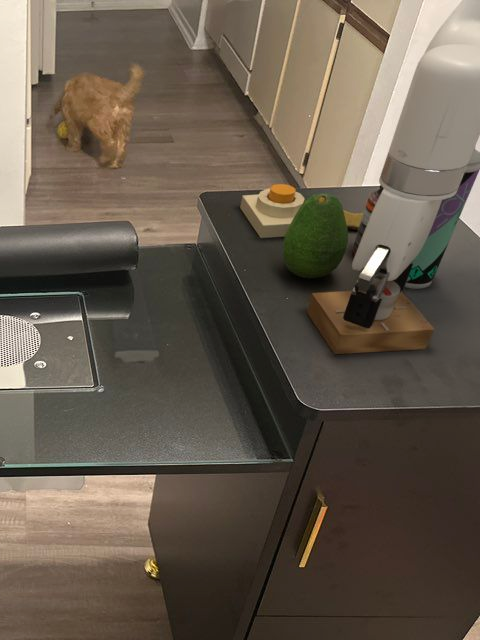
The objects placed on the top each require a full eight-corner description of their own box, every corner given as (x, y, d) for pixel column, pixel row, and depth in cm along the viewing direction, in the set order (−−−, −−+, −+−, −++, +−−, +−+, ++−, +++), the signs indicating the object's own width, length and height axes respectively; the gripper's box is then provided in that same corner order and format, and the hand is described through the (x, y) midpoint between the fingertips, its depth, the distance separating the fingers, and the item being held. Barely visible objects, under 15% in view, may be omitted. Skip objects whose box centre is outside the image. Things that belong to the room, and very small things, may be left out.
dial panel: (391, 307, 94) (399, 286, 92) (426, 349, 87) (435, 328, 85) (306, 312, 94) (312, 291, 92) (334, 354, 88) (341, 333, 85)
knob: (345, 301, 91) (354, 275, 88) (380, 298, 91) (390, 272, 88) (361, 321, 87) (371, 295, 85) (398, 318, 87) (408, 292, 85)
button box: (289, 204, 117) (295, 181, 114) (313, 235, 109) (320, 210, 107) (239, 207, 117) (244, 184, 114) (260, 238, 109) (265, 214, 107)
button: (288, 193, 112) (290, 183, 111) (296, 204, 109) (299, 193, 108) (264, 195, 112) (267, 184, 111) (272, 205, 109) (275, 195, 108)
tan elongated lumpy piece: (409, 239, 109) (416, 235, 106) (313, 232, 113) (317, 228, 110) (412, 217, 109) (419, 212, 106) (316, 211, 113) (320, 206, 110)
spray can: (379, 269, 101) (430, 127, 88) (417, 265, 101) (474, 123, 88) (400, 290, 97) (457, 145, 84) (440, 286, 97) (503, 141, 84)
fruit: (345, 291, 97) (372, 209, 90) (284, 291, 98) (306, 211, 90) (327, 260, 104) (351, 181, 96) (270, 261, 104) (289, 182, 96)
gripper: (414, 138, 84) (369, 266, 95) (353, 192, 75) (311, 326, 86) (486, 154, 80) (430, 285, 91) (431, 212, 71) (376, 350, 82)
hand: (373, 305), depth 88 cm, fingers open, 9 cm apart
